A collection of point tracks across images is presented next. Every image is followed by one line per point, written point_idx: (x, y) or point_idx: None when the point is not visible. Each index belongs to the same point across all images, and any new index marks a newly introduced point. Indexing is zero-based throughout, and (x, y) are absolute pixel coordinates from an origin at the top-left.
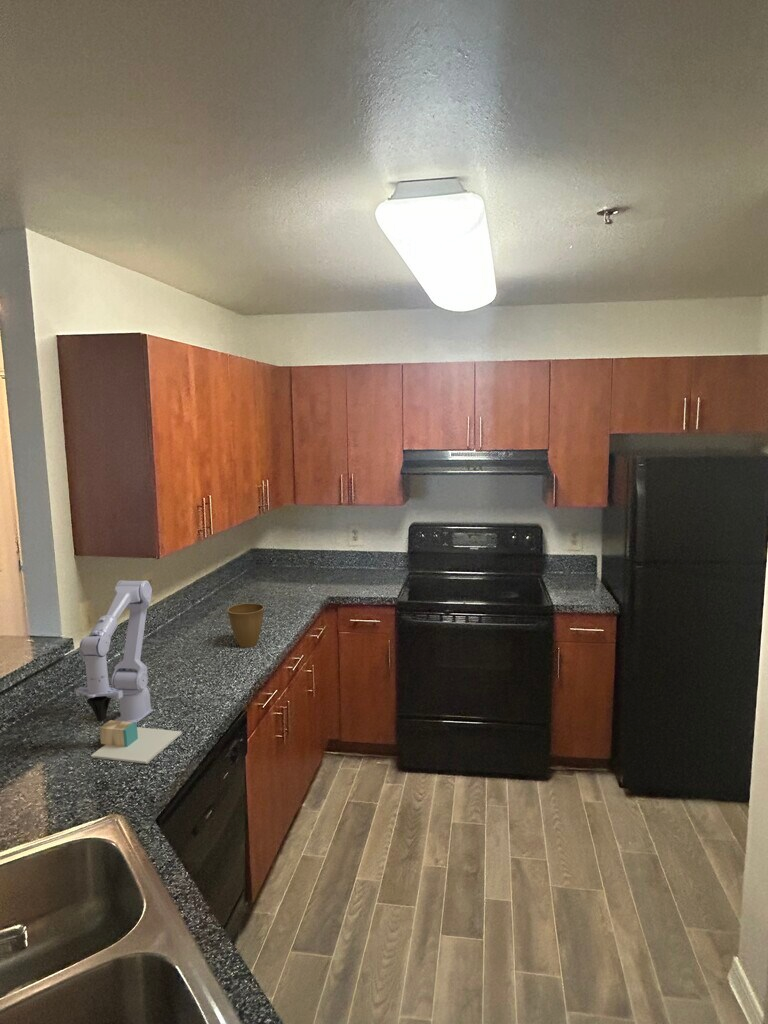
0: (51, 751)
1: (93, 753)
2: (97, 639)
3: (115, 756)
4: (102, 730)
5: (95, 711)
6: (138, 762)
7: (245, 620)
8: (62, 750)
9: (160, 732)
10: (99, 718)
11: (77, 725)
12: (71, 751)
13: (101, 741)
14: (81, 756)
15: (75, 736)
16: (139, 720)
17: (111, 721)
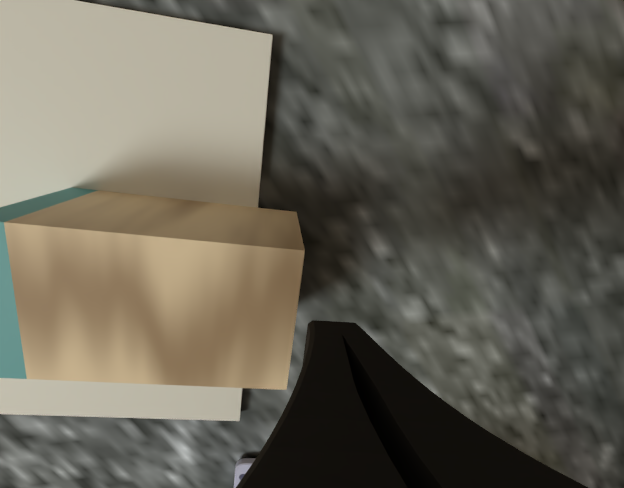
0: (588, 115)
1: (268, 69)
2: None
3: (52, 25)
4: (270, 240)
5: (396, 386)
6: None
7: None
8: (522, 133)
9: None
10: (331, 332)
11: (550, 404)
12: (457, 123)
13: (289, 214)
14: (352, 54)
15: (513, 302)
16: (234, 481)
17: (260, 371)
